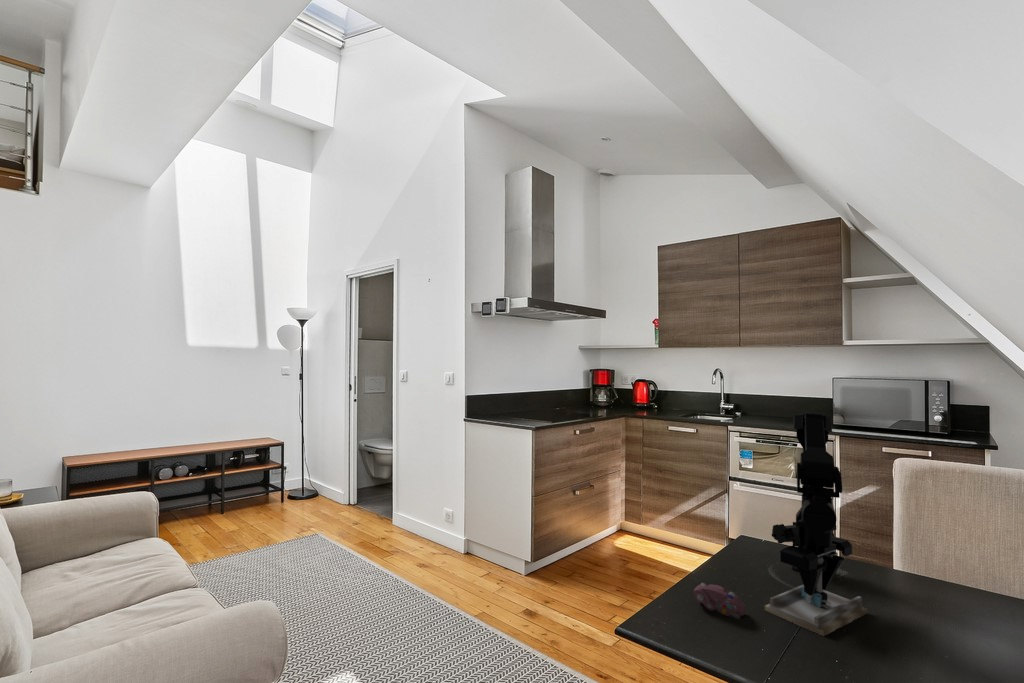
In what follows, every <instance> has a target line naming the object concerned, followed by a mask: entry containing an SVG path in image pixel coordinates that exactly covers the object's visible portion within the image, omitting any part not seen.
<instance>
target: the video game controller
mask: <svg viewBox="0 0 1024 683" xmlns="http://www.w3.org/2000/svg"><path fill="white" fill-rule="evenodd" d="M692 594H693V596H694V598H695V599H696V601H697V602H698V603H702V605H703V606H704V607H705V608H706V609H707V610H709V611H710V612H711V611H712V612H713V611H715V609H716V607H717V603H719V604H720V605H719V608H718V611H719V612H720V614H722V615H723V616H727V617H729V616H730V615H731V614H733V613H734V614H736V615H738V616H740V617H743V616H745V615H746V606H745V603H744V602H743V601H742V600H741V599H740V597H739V596H738V595H736V593H735V592H733V591H729V590H728V589H726V588H724V587H722V586H721V585H717V584H706V583H704V582H701V583H700V584H698V585H697V586H696V587H694V589H693V593H692Z"/></svg>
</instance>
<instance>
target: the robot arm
mask: <svg viewBox="0 0 1024 683" xmlns="http://www.w3.org/2000/svg"><path fill="white" fill-rule="evenodd" d="M793 432H795V433H796V439H797V441H798V443H799V444H800V446H801V448H802V452H801V453H800V462H796V492H797V493H798V494H801V507H800V509H798V510H797V512H796V514H795V521H792V524H790V525H784V523H781V524H773V525H772V529H771V531H772V532H771V537H772V538H773V540H775V541H777V543H778V544H783V543H792V545H790V546H787V547H784V548H782V549H780V550H779V552H778V553H779V555H778V556H779V558H778V559H779V562H781V563H783V564H787V565H789V566H791V569H792V570H794V571H796V572H799V575H800V578H801V581H802V583H803V584H802V585H804V587H805V590H806V593H807V594H808V595H813V593H814V591H815V588H816V586H817V583H818V580H819V577H820V575H821V572H822V569H823V567H822V566H819V565H818V557H819V556H823V559H824V560H826V561H827V562H828V565H827V566H826V571H824V572H822V590H825V591H826V590H827V588H828V586H829V584H830V582H831V581H832V580H833V578H834V576H835V574H836V573H837V571H838V569H839V567H840V566H841V564H842V563H843V562H844V561H845V557H848V556H851V555H853V545H852V544H851V542H849V540H848V539H844V538H841V537H837V536H835V534H834V532H835V531H837V515H836V511H835V509H834V506H833V498H837V499H840V498H841V496H840V495H841V494H843V480H842V479H843V478H842V472H841V471H840V468H839V467H838V466H835V461H834V456H833V455H832V454H830V453H829V452H828V451H827V443H828V441H829V435H832V433H833V417H832V418H831V417H830V416H826V414H824V413H820V412H819V413H818V412H804V413H799V414H796V415H793ZM837 551H839V552H841V554H842V555H843V557H842V556H839V555H838V552H837Z"/></svg>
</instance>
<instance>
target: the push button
mask: <svg viewBox="0 0 1024 683" xmlns="http://www.w3.org/2000/svg"><path fill="white" fill-rule="evenodd" d="M818 565H819V566H822V567H823V569H822V572H824V571H826V566H827V565H828V562H827V561H826V560H824V559H823V556H819V557H818ZM822 572H821V575H820V577H819V580H818V583H817V586H816V588H815V591H814V593H813V595H808V594H807V593H806V590H805V587H804V586H802V595H801V596H802V598H803V599H805V600H806V601H807V602H808V603H812V604H814V605H816V606H817V607H824V606H825V607H826V608H828V607H829V606H828V605H826V603H827V604H831V603H830V602H828V601H827V594H826V593H825V592H823V589H822ZM828 609H831V607H829V608H828Z"/></svg>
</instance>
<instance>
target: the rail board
mask: <svg viewBox="0 0 1024 683" xmlns="http://www.w3.org/2000/svg"><path fill="white" fill-rule="evenodd" d="M802 586H804V584H801V585H799V586H796V587H794V588H792V589H789V590H787V591H784V592H781V593H780V594H777V595H775V596H772V597H769V603H768V604H765V605H764V612H765V611H766V612H768V613H770V614H772V615H774V616H777V617H779V618H781V619H783V620H785V619H786V621H788V622H790V623H792V622H793V624H795V625H797V626H799V627H801V628H803V629H806V630H808V631H810V632H813V633H814V632H815V634H817V633H818V634H817V635H819V636H821V635H822V636H821V637H825V636H827V635H829V634H831V633H833V632H835V631H837V630H838V628H839V629H840V628H842V627H844V626H846V625H848V624H850V623H852V622H854V621H856V620H857V618H858V619H859V618H862V617H863V616H865V615H867V614H868V608H866V607H864V606H863V604H862V596H861V595H860V596H859V595H858V596H856V597H853V598H852V599H849V598H846V597H843V596H842V595H838V594H835V593H832V592H830V591H828V590H826V589H825V590H823V589H822V590H823V592H825V593H826V594H827V601H828V602H830V603H831V604H827V603H826V605H828V606H829V607H831V609H828V608H829V607H828V608H826V607H825V606H824V607H817V606H816V605H814V604H812V603H808V602H807V601H806V600H805V599H803V598H802V596H801V595H802ZM855 619H856V620H855ZM853 620H854V621H853ZM836 629H837V630H836Z"/></svg>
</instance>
